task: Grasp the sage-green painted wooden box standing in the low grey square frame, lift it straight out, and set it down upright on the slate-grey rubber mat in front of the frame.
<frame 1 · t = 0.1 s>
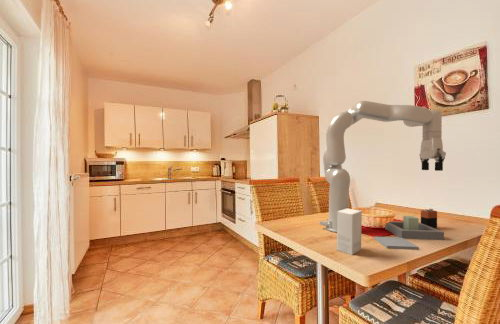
hand: (431, 170, 116), 31 cm above the table, fingers open, 9 cm apart
battery: (428, 228, 126), on the table
grey square frame: (410, 233, 115), on the table
skincare box: (349, 250, 92), on the table
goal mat: (394, 243, 100), on the table
green box: (410, 225, 115), in the grey square frame
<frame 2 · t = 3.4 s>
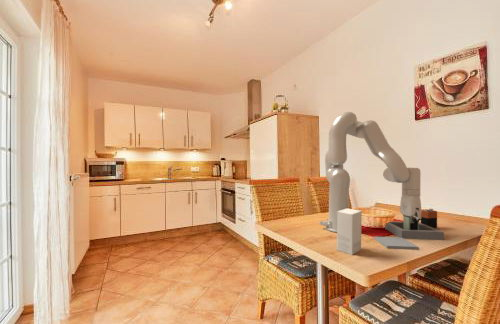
hand: (410, 229, 115), 2 cm above the table, fingers closed on green box, 4 cm apart
green box: (410, 225, 115), in the grey square frame, touching gripper
everything else where it was.
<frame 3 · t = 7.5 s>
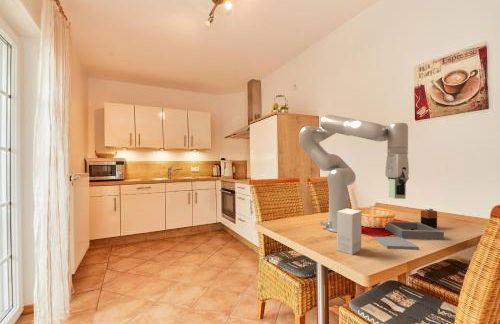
hand: (396, 193, 101), 21 cm above the table, fingers closed on green box, 4 cm apart
green box: (397, 188, 101), point 23 cm above the table, touching gripper
everything else where it was.
when the fingers open (4 cm above the table, at t = 11.4 s): green box drops 1 cm, resting on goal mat.
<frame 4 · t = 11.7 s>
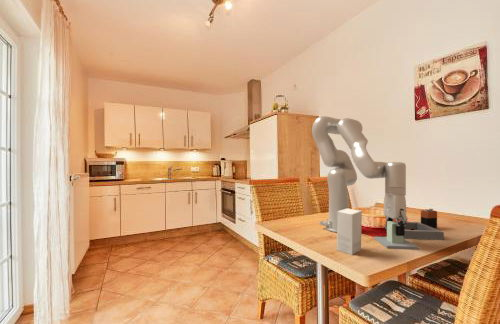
hand: (394, 232, 100), 5 cm above the table, fingers open, 7 cm apart
green box: (394, 231, 100), on the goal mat, point 5 cm above the table
everything else where it was.
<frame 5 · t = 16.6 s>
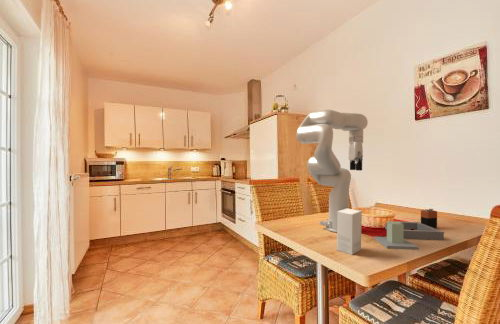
hand: (355, 170, 135), 30 cm above the table, fingers open, 9 cm apart
nothing on the table moved.
at the end: green box inside the target area on the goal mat (0.0 cm from its centre), point 5.0 cm above the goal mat's base; green box tilted 0°; the gripper is holding nothing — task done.
